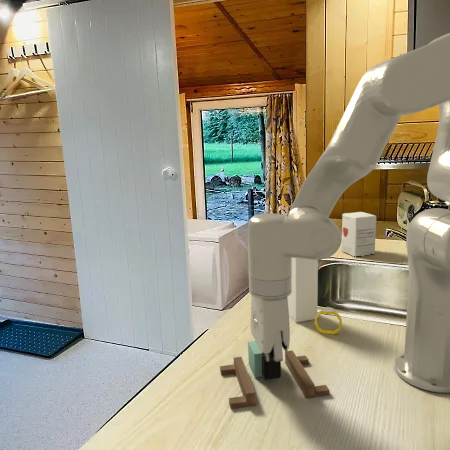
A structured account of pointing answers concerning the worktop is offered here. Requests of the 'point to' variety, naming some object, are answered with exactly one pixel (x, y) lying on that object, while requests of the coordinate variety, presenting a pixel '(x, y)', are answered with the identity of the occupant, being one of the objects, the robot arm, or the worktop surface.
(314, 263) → the milk
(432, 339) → the robot arm
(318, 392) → the wooden brackets
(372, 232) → the supplement box
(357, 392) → the worktop surface
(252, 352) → the block
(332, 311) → the watch
